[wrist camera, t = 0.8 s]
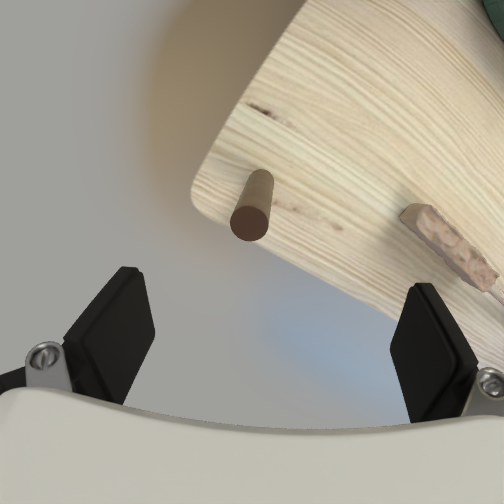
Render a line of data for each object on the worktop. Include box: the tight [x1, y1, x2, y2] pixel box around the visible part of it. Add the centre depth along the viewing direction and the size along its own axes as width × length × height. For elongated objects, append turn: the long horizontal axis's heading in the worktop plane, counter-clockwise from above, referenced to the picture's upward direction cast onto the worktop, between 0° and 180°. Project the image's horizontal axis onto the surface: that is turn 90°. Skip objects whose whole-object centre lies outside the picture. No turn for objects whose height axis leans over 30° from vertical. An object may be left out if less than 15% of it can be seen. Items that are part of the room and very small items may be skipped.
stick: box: [230, 170, 274, 241], centre depth 24 cm, size 2×2×11 cm
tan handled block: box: [400, 203, 504, 306], centre depth 29 cm, size 8×4×30 cm
